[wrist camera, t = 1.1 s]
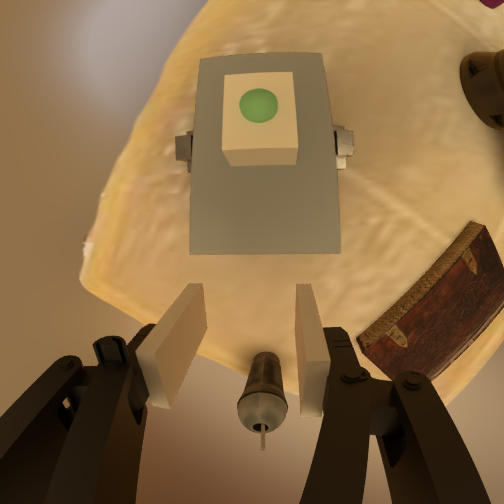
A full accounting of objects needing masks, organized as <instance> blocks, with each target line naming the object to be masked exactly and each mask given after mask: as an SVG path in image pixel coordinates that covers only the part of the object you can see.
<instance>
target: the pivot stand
mask: <svg viewBox="0 0 504 504" xmlns="http://www.w3.org/2000/svg"><path fill="white" fill-rule="evenodd" d="M193 132H194V131H188V132H187V135H185V136H177V137H175V144H176V160H179V161H186V162H188V173H191V167H192V148H193ZM333 134H334V139H335V153H336V164H337V169H346V157H349V156H353V155H354V142H353V131H349V130H345V128H344V127H342V126H333Z"/></svg>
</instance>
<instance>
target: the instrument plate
mask: <svg viewBox="0 0 504 504" xmlns="http://www.w3.org/2000/svg"><path fill="white" fill-rule="evenodd" d="M338 253H341V240H340V210H339V192H338V177H337V164H336V153H335V139H334V134H333V125H332V117H331V109H330V102H329V95H328V89H327V82H326V76H325V70H324V65H323V59H322V54H321V53H255V54H240V55H229V56H220V57H212V58H205V59H200V67H199V75H198V85H197V95H196V106H195V119H194V132H193V148H192V167H191V192H190V255H223V254H338Z"/></svg>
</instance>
